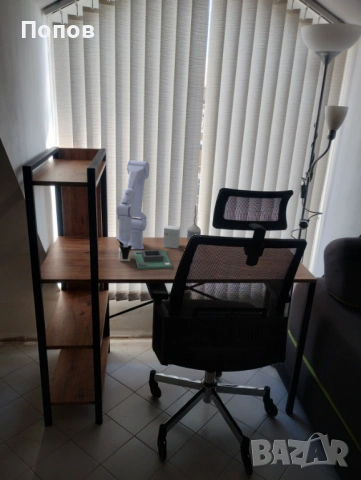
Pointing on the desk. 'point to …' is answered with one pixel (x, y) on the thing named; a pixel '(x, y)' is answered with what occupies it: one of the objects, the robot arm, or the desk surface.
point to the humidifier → (193, 228)
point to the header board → (152, 259)
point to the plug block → (121, 256)
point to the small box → (171, 236)
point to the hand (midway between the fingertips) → (124, 256)
